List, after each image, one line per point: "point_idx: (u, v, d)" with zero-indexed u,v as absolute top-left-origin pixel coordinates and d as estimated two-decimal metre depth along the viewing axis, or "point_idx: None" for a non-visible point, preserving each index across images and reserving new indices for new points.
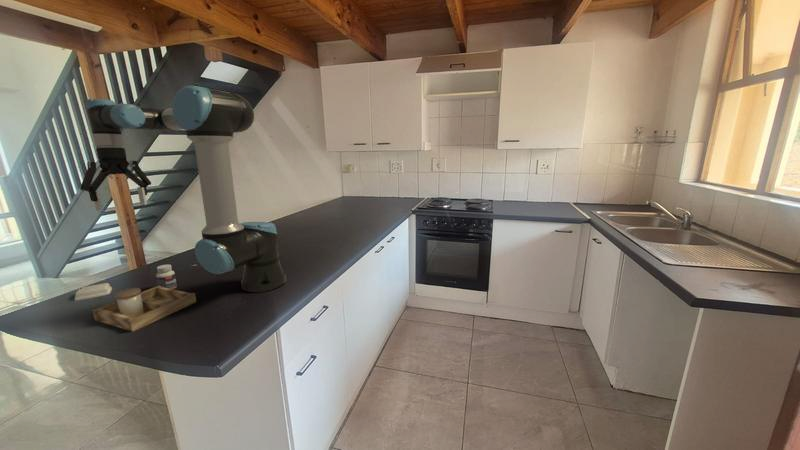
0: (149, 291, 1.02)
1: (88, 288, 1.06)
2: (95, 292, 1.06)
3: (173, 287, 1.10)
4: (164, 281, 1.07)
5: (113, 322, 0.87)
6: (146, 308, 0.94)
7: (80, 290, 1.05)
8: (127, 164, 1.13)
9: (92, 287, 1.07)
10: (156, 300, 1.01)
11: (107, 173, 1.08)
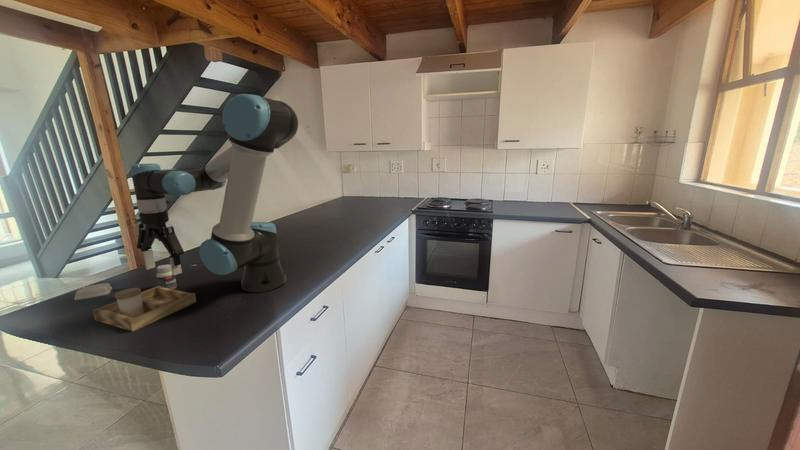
0: (149, 291, 1.02)
1: (88, 288, 1.07)
2: (94, 292, 1.06)
3: (173, 287, 1.10)
4: (164, 281, 1.07)
5: (113, 322, 0.87)
6: (146, 308, 0.94)
7: (80, 290, 1.05)
8: (160, 230, 1.03)
9: (92, 287, 1.07)
10: (156, 300, 1.01)
11: (146, 236, 1.06)
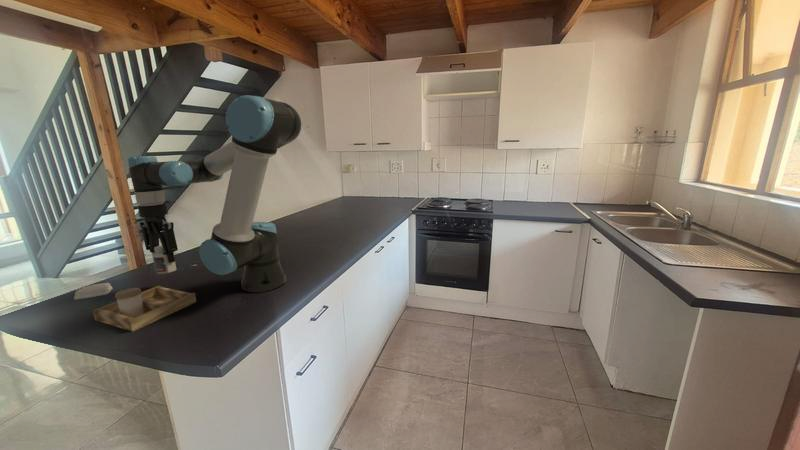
0: (149, 291, 1.02)
1: (88, 287, 1.07)
2: (94, 292, 1.06)
3: None
4: (161, 261, 1.06)
5: (113, 322, 0.87)
6: (146, 308, 0.94)
7: (80, 289, 1.06)
8: (159, 223, 1.03)
9: (92, 286, 1.08)
10: (156, 300, 1.01)
11: (148, 232, 1.05)
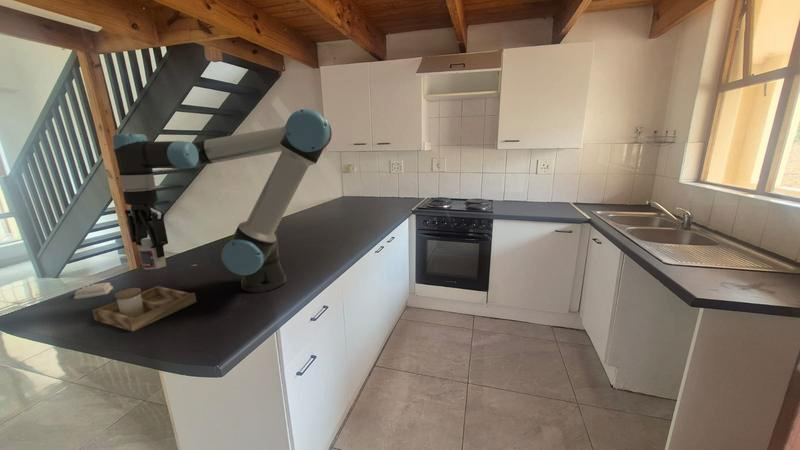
0: (149, 291, 1.02)
1: (88, 287, 1.07)
2: (93, 292, 1.06)
3: None
4: (149, 255, 0.92)
5: (113, 322, 0.87)
6: (146, 308, 0.94)
7: (80, 289, 1.06)
8: (147, 212, 0.90)
9: (92, 286, 1.08)
10: (156, 300, 1.01)
11: (134, 222, 0.92)
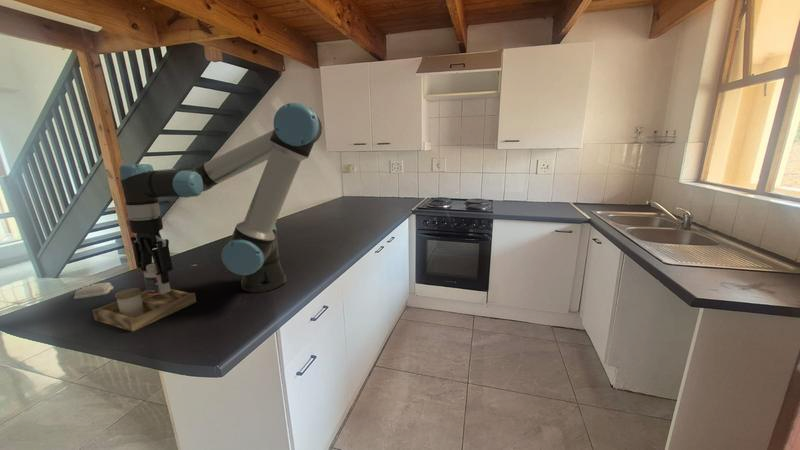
0: None
1: (88, 287, 1.08)
2: (93, 291, 1.06)
3: None
4: (154, 281, 0.94)
5: (113, 322, 0.87)
6: (146, 308, 0.94)
7: None
8: (152, 240, 0.91)
9: (92, 286, 1.08)
10: (156, 300, 1.01)
11: (140, 249, 0.93)
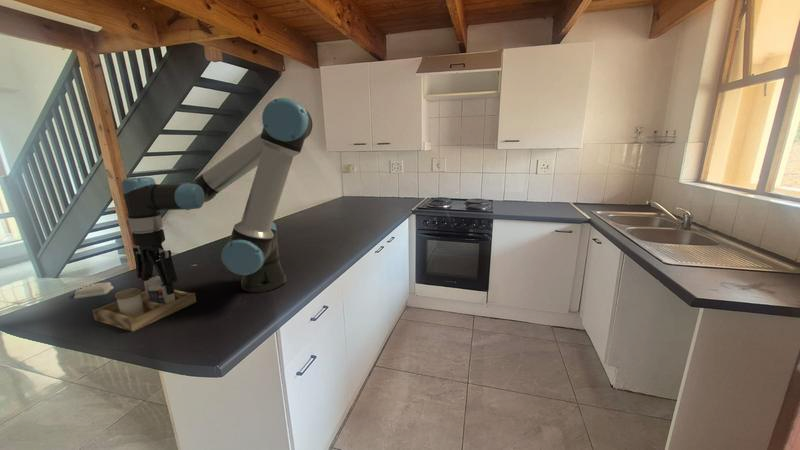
0: None
1: (88, 286, 1.08)
2: (93, 291, 1.07)
3: None
4: (157, 294, 0.95)
5: (113, 322, 0.87)
6: (146, 308, 0.94)
7: None
8: (155, 252, 0.92)
9: (92, 286, 1.08)
10: None
11: (142, 260, 0.94)
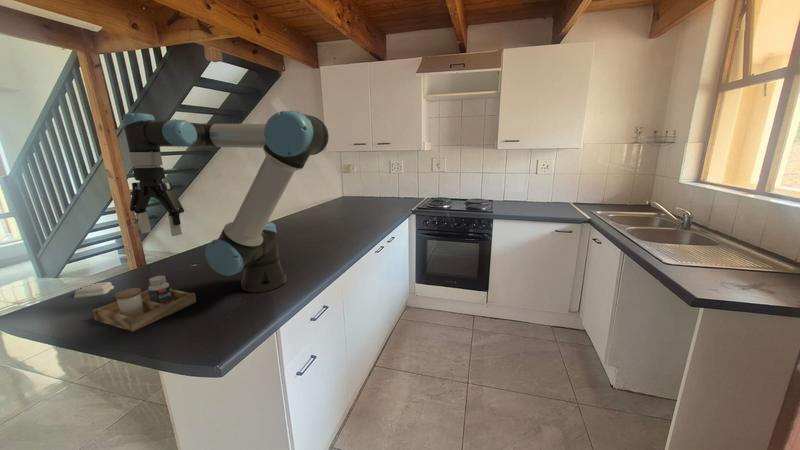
0: None
1: (89, 286, 1.08)
2: (92, 291, 1.07)
3: (167, 301, 0.98)
4: (157, 294, 0.95)
5: (113, 322, 0.87)
6: (146, 308, 0.94)
7: (81, 287, 1.07)
8: (156, 187, 0.96)
9: (92, 285, 1.09)
10: None
11: (140, 195, 0.98)
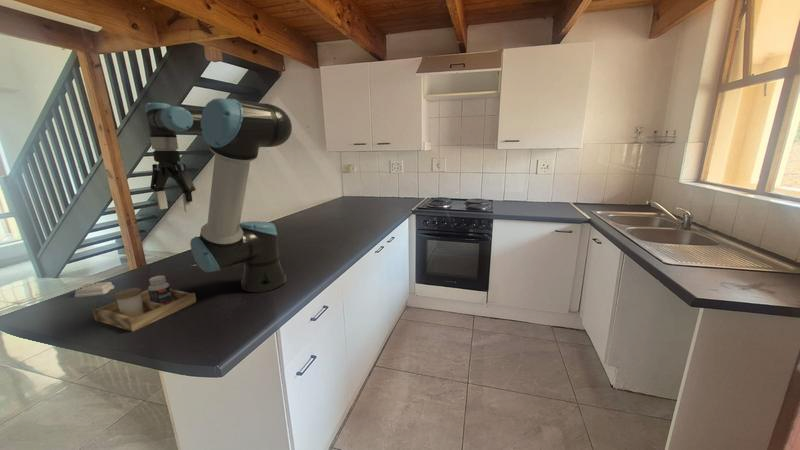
0: None
1: (89, 286, 1.08)
2: (92, 291, 1.07)
3: (167, 301, 0.98)
4: (157, 294, 0.95)
5: (113, 322, 0.87)
6: (146, 308, 0.94)
7: (81, 287, 1.08)
8: (172, 168, 1.09)
9: (93, 285, 1.09)
10: None
11: (159, 175, 1.12)
